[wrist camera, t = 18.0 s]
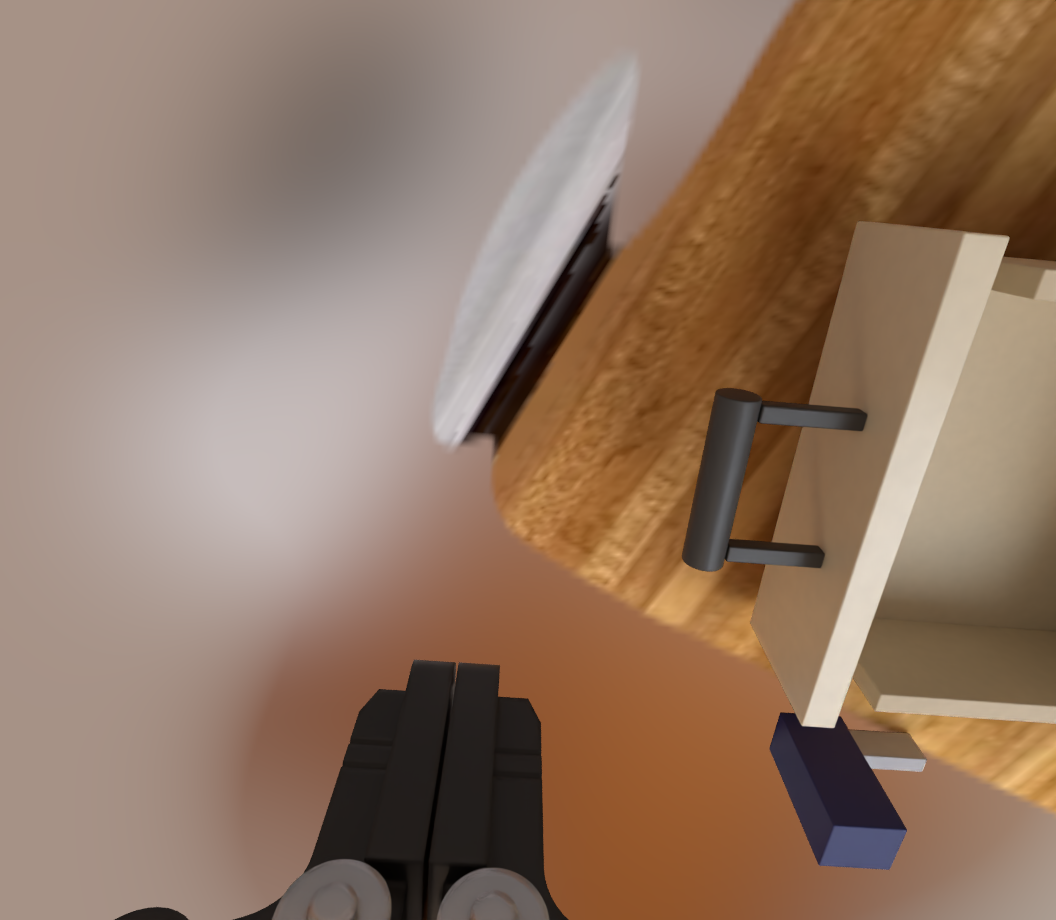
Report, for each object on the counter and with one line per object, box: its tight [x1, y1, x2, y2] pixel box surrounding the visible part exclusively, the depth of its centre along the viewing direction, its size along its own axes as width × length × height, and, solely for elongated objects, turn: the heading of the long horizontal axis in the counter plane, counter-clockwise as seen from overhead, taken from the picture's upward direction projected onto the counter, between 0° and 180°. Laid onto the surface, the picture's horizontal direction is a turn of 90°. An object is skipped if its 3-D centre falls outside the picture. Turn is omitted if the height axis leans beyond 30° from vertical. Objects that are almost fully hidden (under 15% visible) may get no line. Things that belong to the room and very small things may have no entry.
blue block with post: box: [770, 713, 927, 870], centre depth 29 cm, size 2×7×6 cm, turn 85°
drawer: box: [682, 221, 1056, 728], centre depth 22 cm, size 18×16×6 cm
